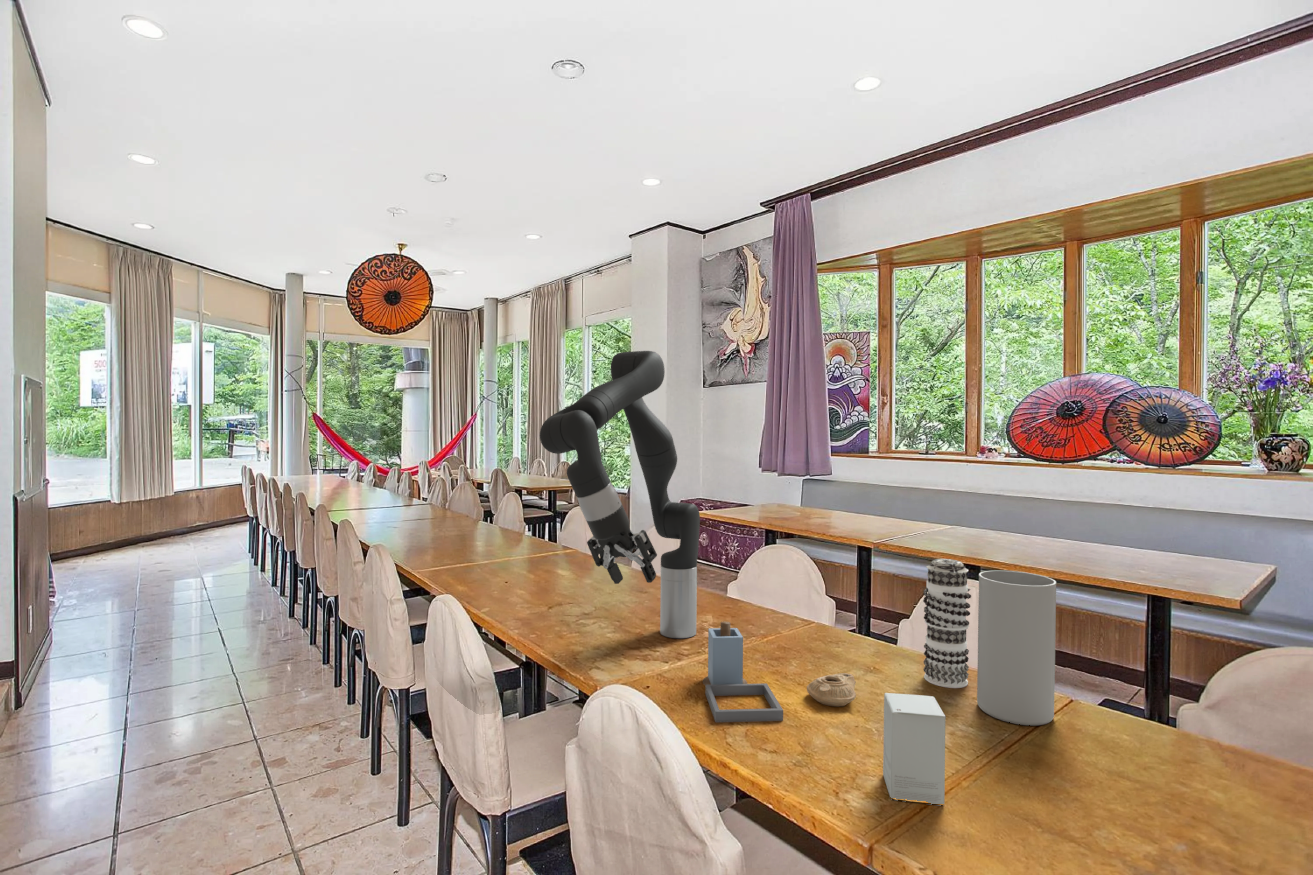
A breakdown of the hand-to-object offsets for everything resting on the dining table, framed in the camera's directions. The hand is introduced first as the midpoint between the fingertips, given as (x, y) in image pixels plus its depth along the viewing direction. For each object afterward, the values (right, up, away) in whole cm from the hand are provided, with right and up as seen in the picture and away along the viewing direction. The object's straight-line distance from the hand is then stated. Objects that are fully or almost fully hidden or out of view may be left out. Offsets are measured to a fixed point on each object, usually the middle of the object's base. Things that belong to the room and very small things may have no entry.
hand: (635, 580), depth 128 cm
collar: (+18, -21, +3) cm, 28 cm away
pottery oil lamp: (+39, -23, -4) cm, 45 cm away
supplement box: (+41, -23, -33) cm, 58 cm away
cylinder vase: (+71, -23, -7) cm, 75 cm away
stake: (+18, -22, +3) cm, 29 cm away
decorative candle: (+65, -23, +8) cm, 69 cm away
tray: (+20, -22, -8) cm, 31 cm away
